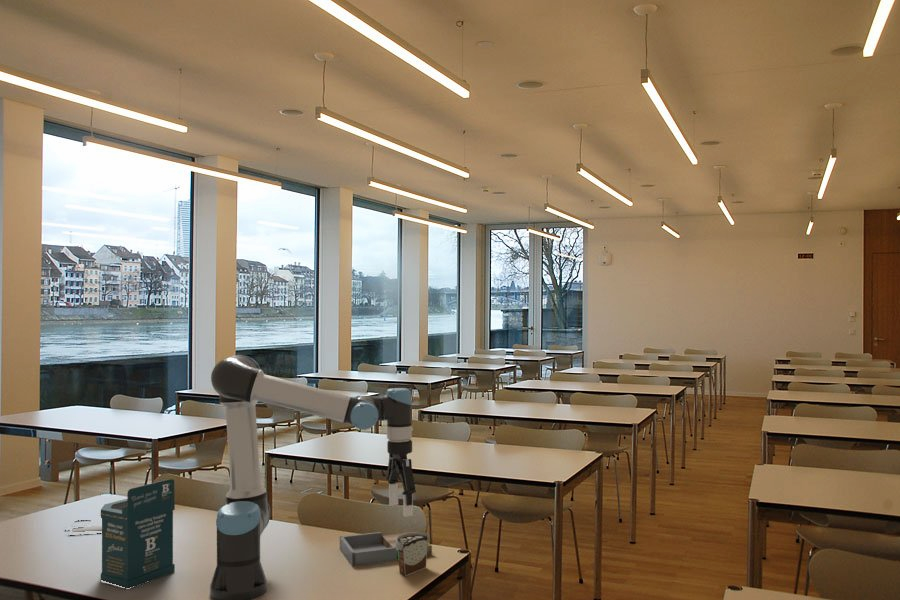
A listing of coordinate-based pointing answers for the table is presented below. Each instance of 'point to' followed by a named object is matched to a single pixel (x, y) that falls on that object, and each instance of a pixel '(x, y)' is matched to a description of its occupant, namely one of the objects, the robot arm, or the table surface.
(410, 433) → the robot arm
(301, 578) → the table surface
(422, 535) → the food container
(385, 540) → the tan wooden flat block
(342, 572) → the table surface
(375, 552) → the tray
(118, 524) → the donation box
